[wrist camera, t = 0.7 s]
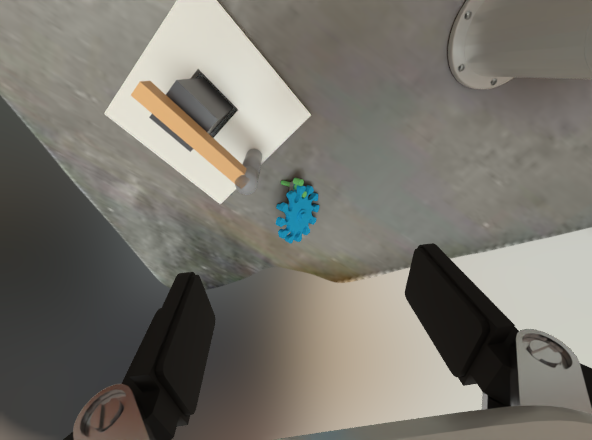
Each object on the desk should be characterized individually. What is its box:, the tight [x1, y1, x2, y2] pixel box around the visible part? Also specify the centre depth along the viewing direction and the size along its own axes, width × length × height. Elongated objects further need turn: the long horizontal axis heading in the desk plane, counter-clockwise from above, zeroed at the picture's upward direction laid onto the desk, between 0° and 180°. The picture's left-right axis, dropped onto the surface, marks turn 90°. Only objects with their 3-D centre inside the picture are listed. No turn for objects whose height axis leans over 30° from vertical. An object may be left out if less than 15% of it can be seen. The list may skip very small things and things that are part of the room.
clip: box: [131, 81, 259, 195], centre depth 26 cm, size 2×14×3 cm, turn 43°
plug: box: [149, 77, 233, 152], centre depth 30 cm, size 5×5×10 cm
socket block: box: [104, 0, 311, 204], centre depth 30 cm, size 20×19×9 cm
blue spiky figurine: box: [276, 178, 319, 243], centre depth 41 cm, size 11×6×10 cm
